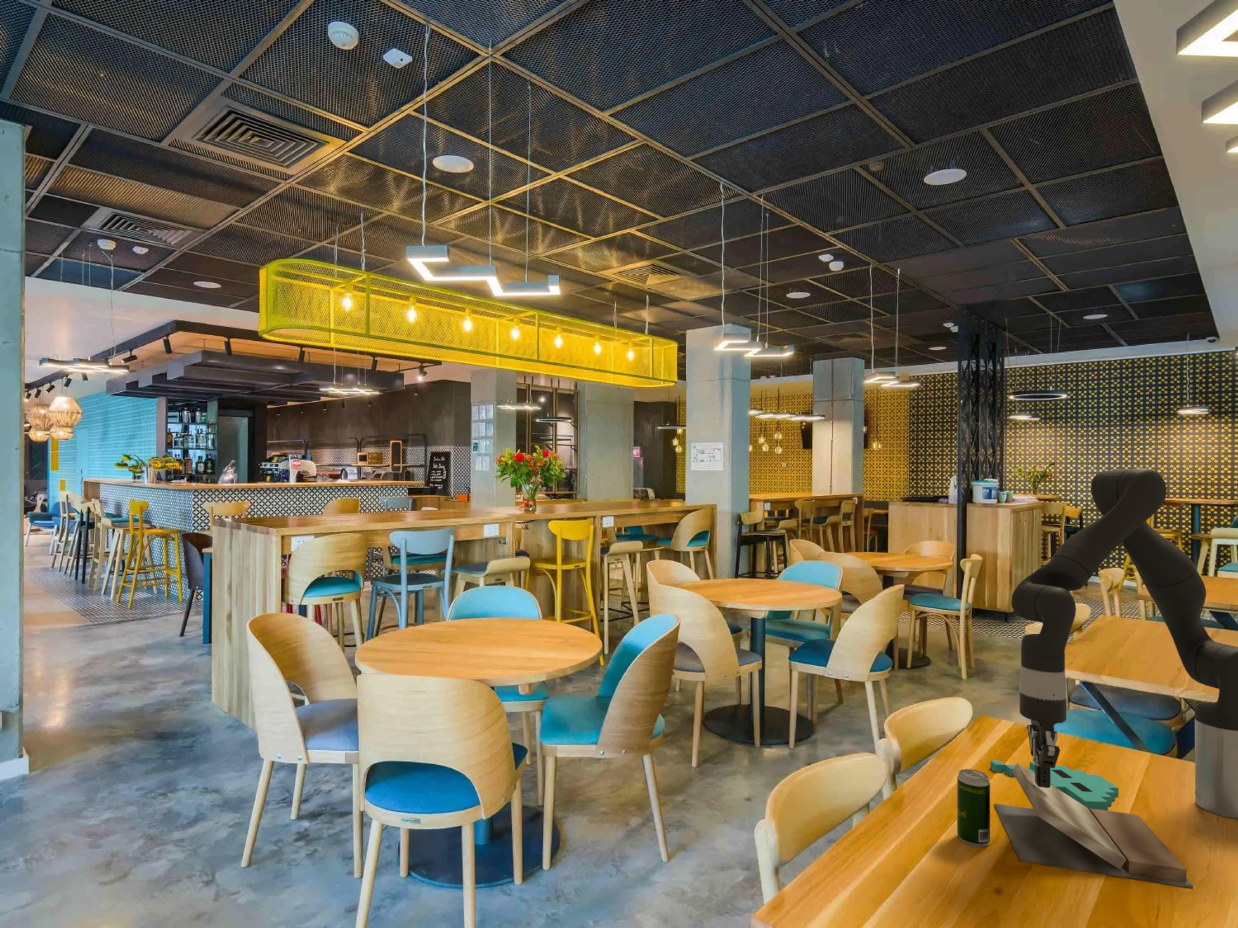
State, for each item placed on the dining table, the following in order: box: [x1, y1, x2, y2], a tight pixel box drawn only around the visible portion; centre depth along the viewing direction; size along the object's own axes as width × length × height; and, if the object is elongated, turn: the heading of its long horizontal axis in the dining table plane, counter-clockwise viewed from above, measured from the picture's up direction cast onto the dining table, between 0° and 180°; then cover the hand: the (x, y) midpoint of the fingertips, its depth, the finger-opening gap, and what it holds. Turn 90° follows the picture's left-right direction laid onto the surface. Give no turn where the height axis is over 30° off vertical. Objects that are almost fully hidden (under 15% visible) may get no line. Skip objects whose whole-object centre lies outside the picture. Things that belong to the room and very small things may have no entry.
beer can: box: [956, 768, 991, 848], centre depth 129 cm, size 5×5×12 cm
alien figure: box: [989, 760, 1120, 811], centre depth 151 cm, size 20×2×20 cm
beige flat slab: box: [1012, 763, 1126, 869], centre depth 130 cm, size 14×20×2 cm
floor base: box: [993, 803, 1194, 889], centre depth 129 cm, size 25×22×2 cm
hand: (1042, 785), depth 131 cm, fingers closed
